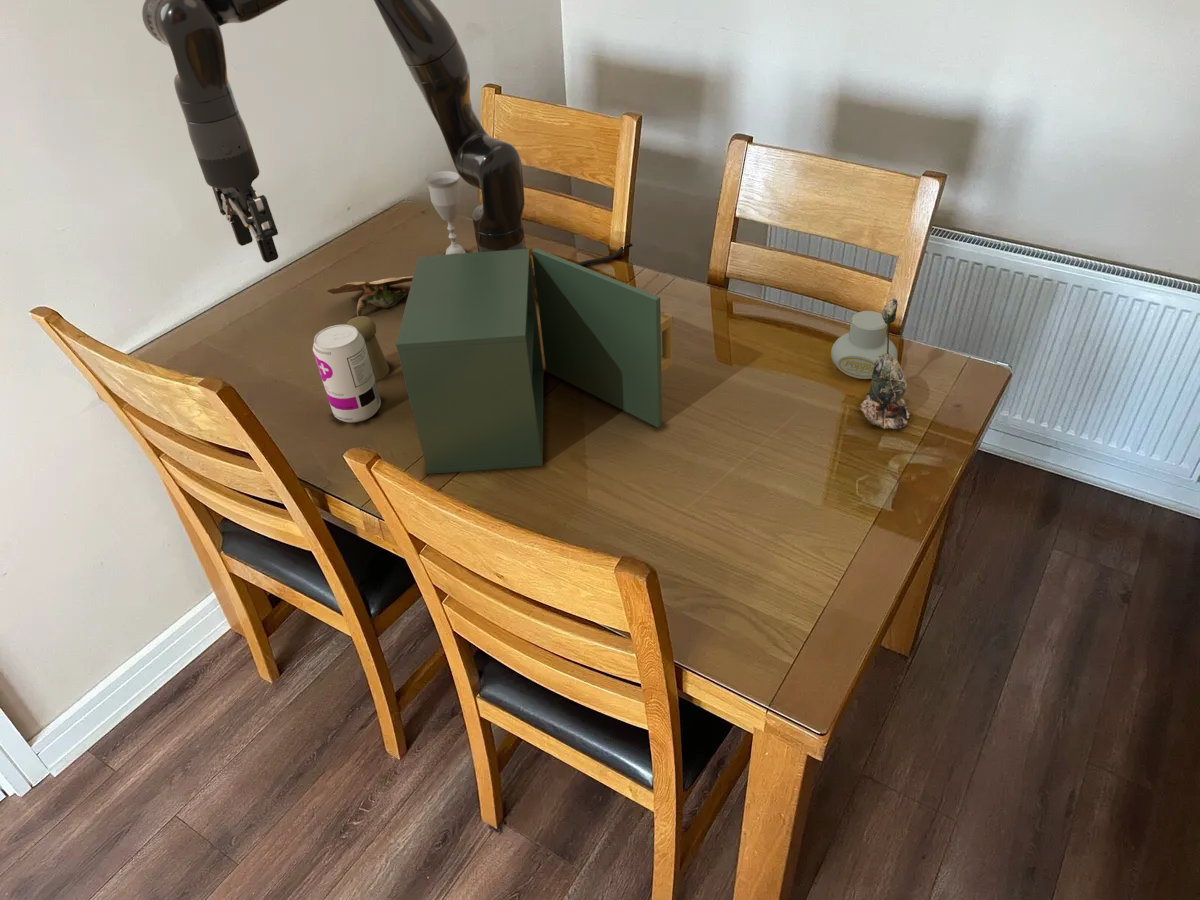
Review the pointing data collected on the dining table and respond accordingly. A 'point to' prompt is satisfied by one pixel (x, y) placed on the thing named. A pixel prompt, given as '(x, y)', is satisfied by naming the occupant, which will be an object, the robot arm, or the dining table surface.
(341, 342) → the supplement can
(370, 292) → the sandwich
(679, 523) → the dining table surface
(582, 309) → the door
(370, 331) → the pawn
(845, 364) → the air freshener
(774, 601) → the dining table surface
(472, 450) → the cupboard
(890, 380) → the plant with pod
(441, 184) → the chalice
